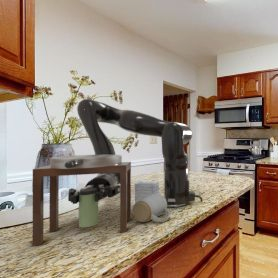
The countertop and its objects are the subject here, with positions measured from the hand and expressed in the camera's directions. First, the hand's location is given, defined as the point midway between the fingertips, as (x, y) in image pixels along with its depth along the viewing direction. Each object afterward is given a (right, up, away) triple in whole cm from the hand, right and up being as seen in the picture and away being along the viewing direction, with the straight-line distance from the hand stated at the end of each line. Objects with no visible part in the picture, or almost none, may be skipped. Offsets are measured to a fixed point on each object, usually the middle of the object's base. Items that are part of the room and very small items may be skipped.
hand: (85, 199), depth 57 cm
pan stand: (0, -10, -1) cm, 10 cm away
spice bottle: (-1, -8, +2) cm, 8 cm away
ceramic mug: (+14, -10, +11) cm, 20 cm away
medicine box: (+4, -10, +27) cm, 29 cm away
